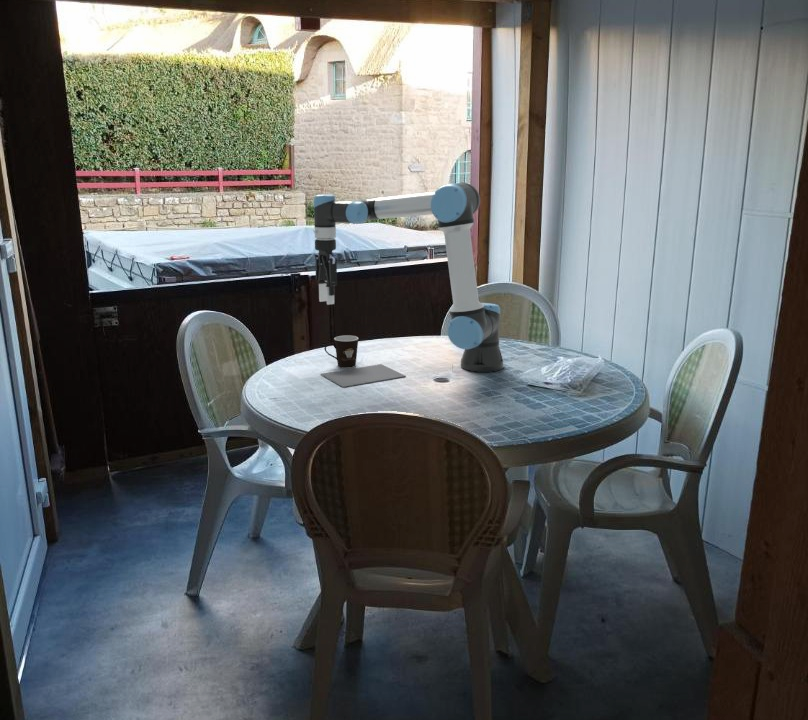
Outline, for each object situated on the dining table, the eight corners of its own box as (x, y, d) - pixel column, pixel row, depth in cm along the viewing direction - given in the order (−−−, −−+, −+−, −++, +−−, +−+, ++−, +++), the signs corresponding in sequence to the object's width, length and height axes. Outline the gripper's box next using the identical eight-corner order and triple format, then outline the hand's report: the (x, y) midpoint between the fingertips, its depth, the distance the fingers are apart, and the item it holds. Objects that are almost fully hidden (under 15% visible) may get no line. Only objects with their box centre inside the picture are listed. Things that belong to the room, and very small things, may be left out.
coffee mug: (360, 362, 276) (360, 335, 273) (356, 369, 268) (356, 341, 265) (329, 361, 277) (328, 334, 274) (324, 368, 269) (323, 340, 266)
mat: (405, 376, 259) (405, 375, 258) (342, 387, 247) (342, 386, 246) (381, 365, 273) (381, 364, 272) (320, 374, 261) (320, 373, 260)
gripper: (304, 236, 276) (306, 299, 282) (327, 242, 261) (328, 308, 267) (323, 235, 280) (325, 297, 286) (346, 240, 265) (347, 306, 271)
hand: (326, 302), depth 277 cm, fingers open, 6 cm apart
